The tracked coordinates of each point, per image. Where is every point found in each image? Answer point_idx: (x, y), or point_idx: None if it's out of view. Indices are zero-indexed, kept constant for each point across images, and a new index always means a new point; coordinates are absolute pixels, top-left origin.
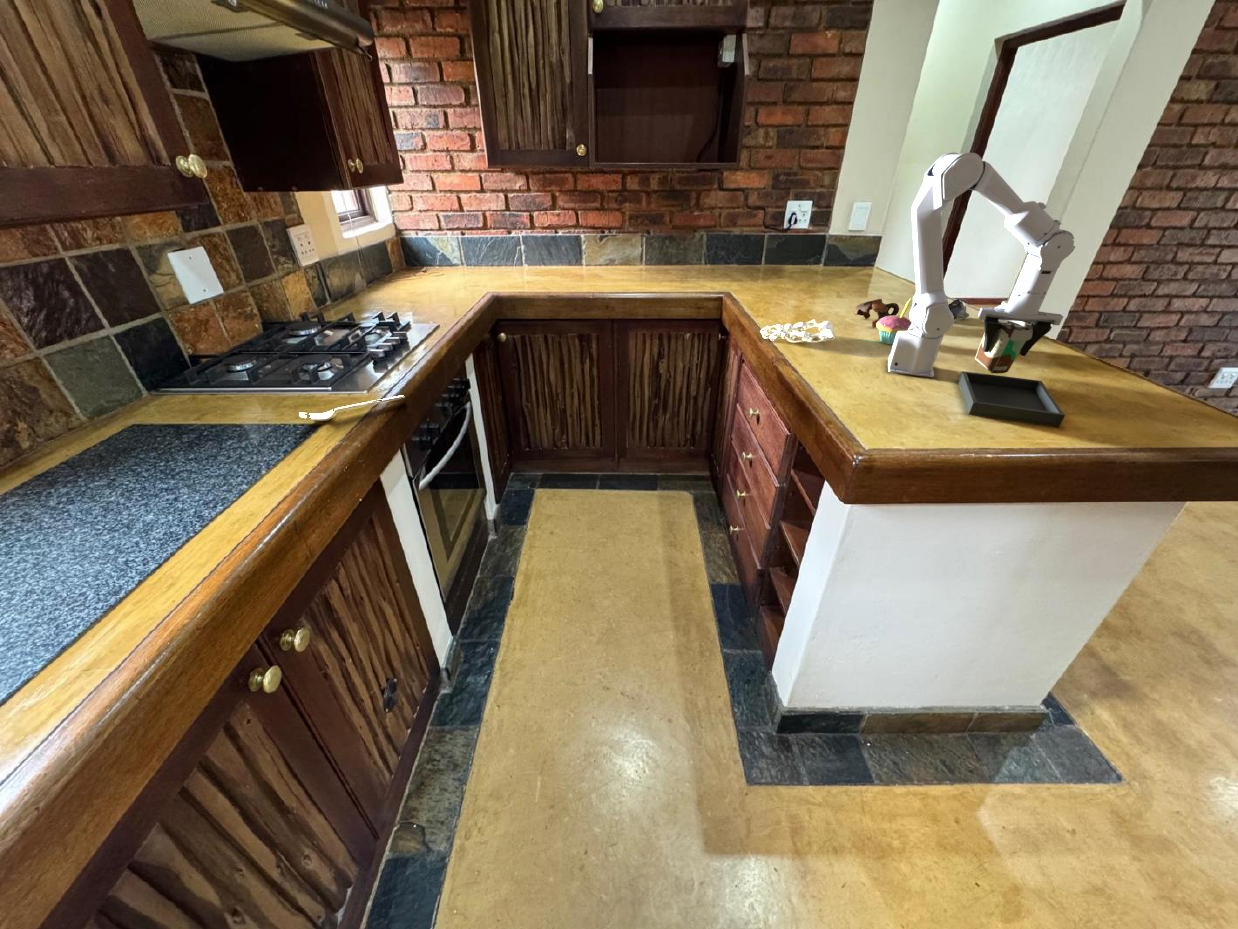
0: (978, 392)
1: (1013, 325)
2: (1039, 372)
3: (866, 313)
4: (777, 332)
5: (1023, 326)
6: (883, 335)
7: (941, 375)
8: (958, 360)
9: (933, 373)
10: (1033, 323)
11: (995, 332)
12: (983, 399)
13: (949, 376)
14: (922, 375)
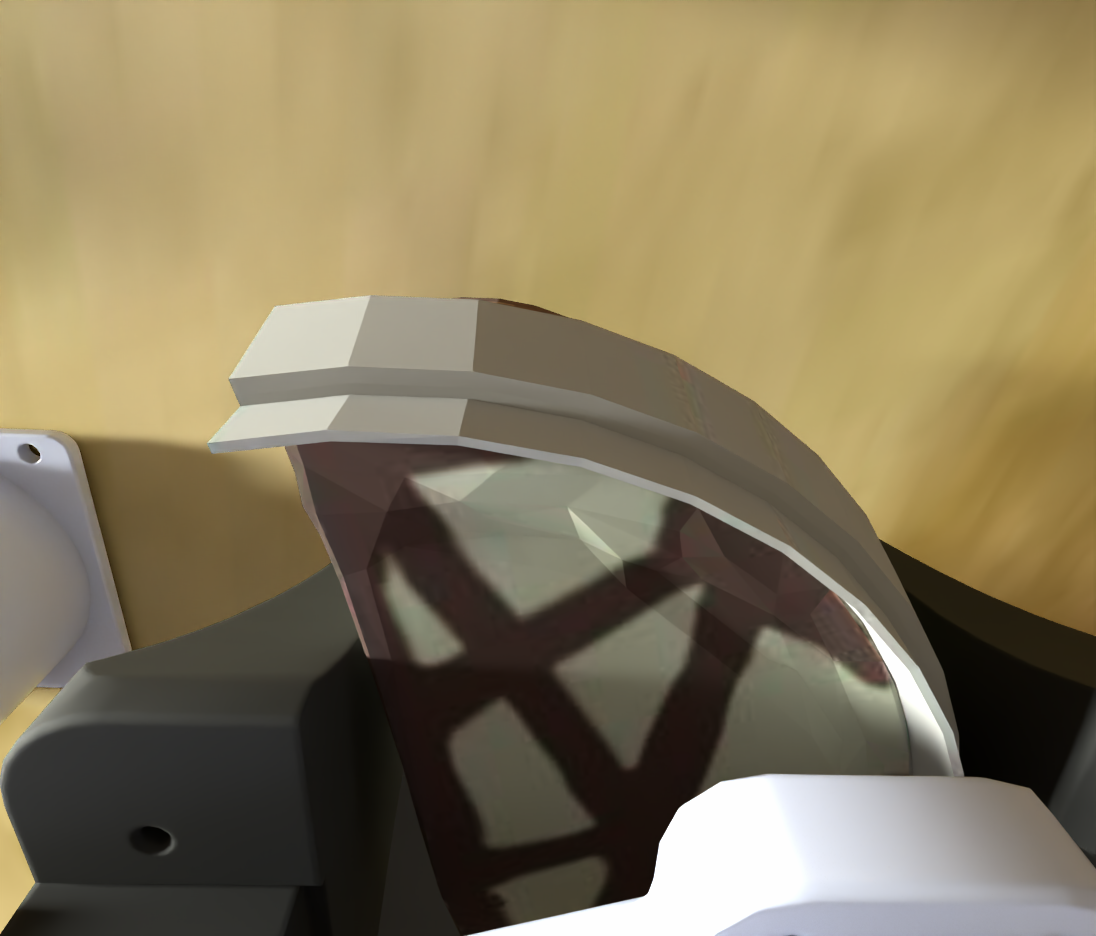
0: (408, 847)
1: (705, 715)
2: (1028, 251)
3: None
4: None
5: (881, 723)
6: None
7: (189, 599)
8: (315, 120)
9: (117, 645)
10: (1076, 807)
11: (384, 864)
12: (423, 916)
13: (247, 601)
14: (54, 682)
